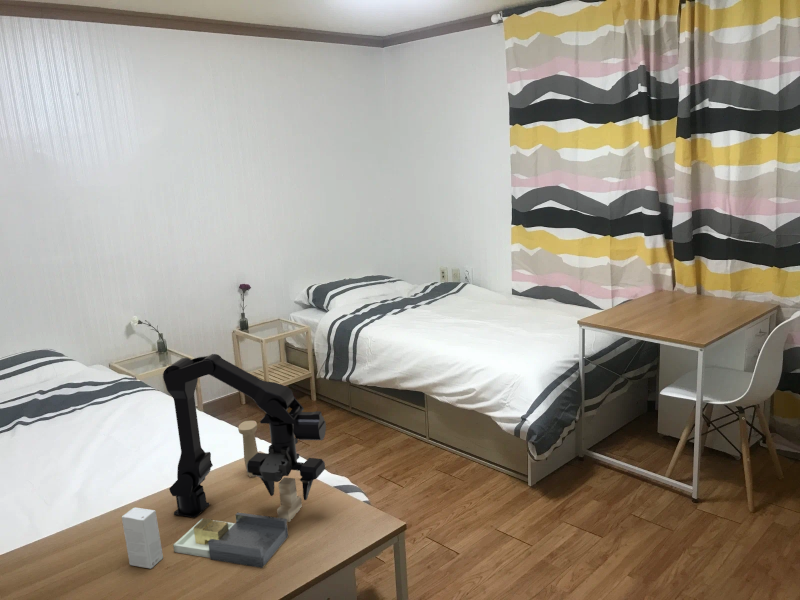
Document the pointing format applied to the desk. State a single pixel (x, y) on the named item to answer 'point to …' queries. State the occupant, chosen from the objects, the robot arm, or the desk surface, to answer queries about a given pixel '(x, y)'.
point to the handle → (248, 440)
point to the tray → (193, 544)
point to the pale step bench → (288, 499)
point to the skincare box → (142, 537)
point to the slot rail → (250, 540)
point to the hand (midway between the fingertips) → (288, 497)
